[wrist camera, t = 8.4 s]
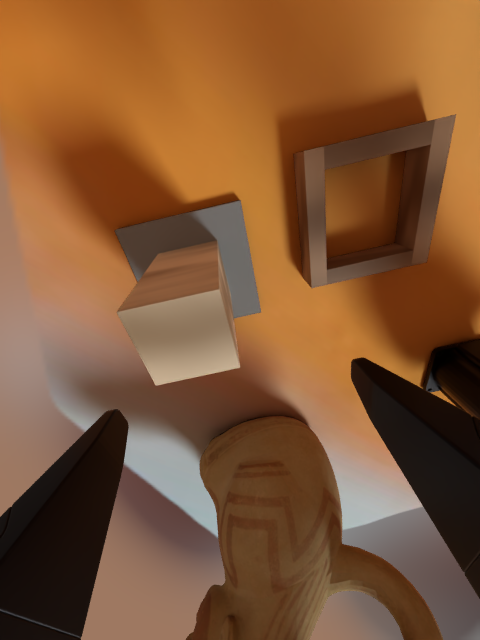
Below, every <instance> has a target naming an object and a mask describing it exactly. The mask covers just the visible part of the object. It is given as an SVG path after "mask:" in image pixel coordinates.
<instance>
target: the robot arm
mask: <svg viewBox="0 0 480 640" xmlns="http://www.w3.org/2000/svg"><path fill="white" fill-rule="evenodd" d="M351 379H352V382H353V384H354V386H355V388H356V390H357V393H358V395H359V397H360V399H361V401H362V403H363V405H364V407H365V410H366V412H367V414H368V416H369V418H370V420H371V421H372V423H373V425H374V427H375V428H376V430H377V431H378V433H379V435H380V436H381V438H382V440H383V441H384V443H385V445H386V446H387V448H388V449H389V451H390V453H391V454H392V456H393V458H394V459H395V461H396V463H397V464H398V466H399V467H400V469H401V471H402V472H403V474H404V476H405V477H406V479H407V481H408V482H409V484H410V485H411V487H412V489H413V490H414V492H415V494H416V495H417V497H418V499H419V500H420V502H421V503H422V505H423V507H424V508H425V510H426V512H427V513H428V515H429V516H430V518H431V520H432V521H433V523H434V524H435V526H436V528H437V530H438V531H439V533H440V535H441V536H442V538H443V539H444V541H445V543H446V544H447V546H448V548H449V549H450V551H451V553H452V554H453V556H454V557H455V559H456V561H457V562H458V564H459V565H460V567H461V569H462V570H463V572H465V576H466V577H467V579H468V581H469V582H470V584H471V585H472V587H473V589H474V590H475V592H476V594H477V595H478V597H479V599H480V339H478V340H473V341H468V342H464V343H459V344H454V345H450V346H445V347H440V348H437V349H435V350H434V351H433V352H432V356H431V360H430V364H429V367H428V371H427V375H426V379H425V383H424V387H423V389H422V388H420V387H418V386H417V385H415V384H413V383H411V382H409V381H407V380H405V379H403V378H402V377H400V376H398V375H396V374H394V373H392V372H390V371H388V370H386V369H385V368H383V367H381V366H379V365H377V364H375V363H373V362H371V361H370V360H368V359H366V358H357V359H353V360H352V362H351ZM435 391H441V392H442V393H443V394H444V395H445V396H446V397H447V398H448V399H449V400H451V401H452V402H453V403H454V404H455V405H456V406H457V407H456V406H454V405H452V404H450V403H449V402H447V401H445V400H443V399H441V398H439V397H437V396H435V395H433V394H432V393H430V392H435ZM127 435H128V422H127V420H126V419H125V417H124V416H123V415H122V413H121V412H120V410H118V409H114V410H109V411H106V412H105V413H104V414H103V415H102V416H101V417H100V418H99V419H98V420H97V421H96V422H95V423H94V424H93V425H92V426H91V427H90V428H89V429H88V430H87V431H86V432H85V433H84V434H83V435H82V436H81V437H80V438H79V439H78V440H77V441H76V442H75V443H74V444H73V445H72V446H71V447H70V448H69V449H68V450H67V451H66V452H65V453H64V454H63V455H62V456H61V457H60V458H59V459H58V460H57V461H56V462H55V463H54V464H53V465H52V466H51V467H50V468H49V469H48V470H47V471H46V472H45V473H44V474H43V475H42V476H41V477H40V478H39V479H38V480H37V481H36V482H35V483H34V484H33V485H32V486H31V487H30V488H29V489H28V490H27V491H26V492H25V493H24V494H23V495H22V496H21V497H20V498H19V499H18V500H17V501H16V502H15V503H14V504H13V505H12V507H10V508H9V509H8V510H7V511H6V512H5V513H4V514H3V515H2V516H1V517H0V640H81V636H82V633H83V629H84V625H85V621H86V617H87V612H88V608H89V604H90V600H91V595H92V591H93V588H94V584H95V580H96V576H97V571H98V568H99V563H100V559H101V555H102V551H103V547H104V543H105V539H106V535H107V531H108V526H109V522H110V518H111V514H112V510H113V506H114V502H115V498H116V494H117V490H118V486H119V482H120V478H121V473H122V468H123V463H124V456H125V449H126V442H127Z"/></svg>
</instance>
